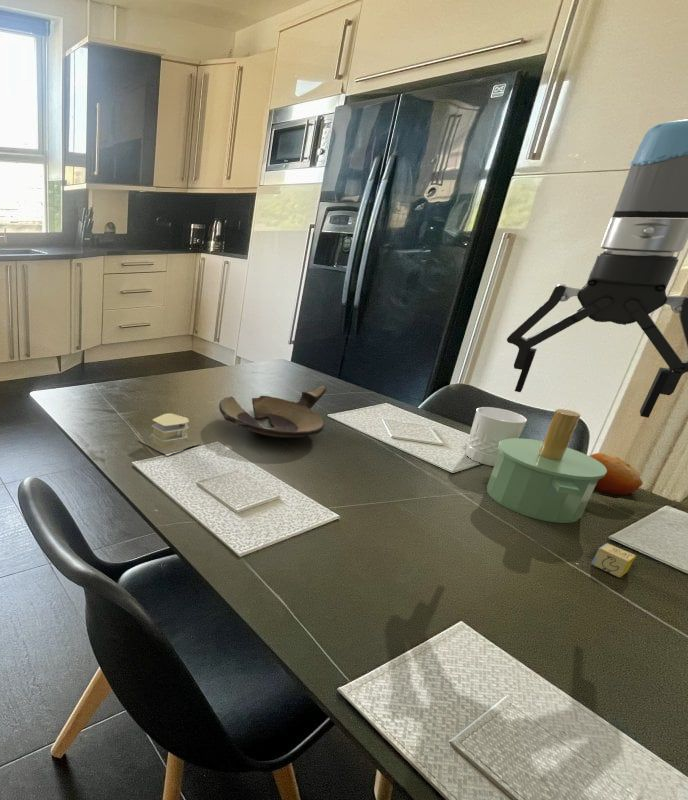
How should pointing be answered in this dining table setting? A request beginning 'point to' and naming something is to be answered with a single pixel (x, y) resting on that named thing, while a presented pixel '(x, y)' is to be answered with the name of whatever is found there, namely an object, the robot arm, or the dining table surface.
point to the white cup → (492, 433)
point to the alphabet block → (613, 560)
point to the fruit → (617, 476)
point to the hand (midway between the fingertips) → (577, 401)
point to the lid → (554, 451)
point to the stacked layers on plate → (169, 429)
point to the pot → (538, 492)
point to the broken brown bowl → (277, 415)
